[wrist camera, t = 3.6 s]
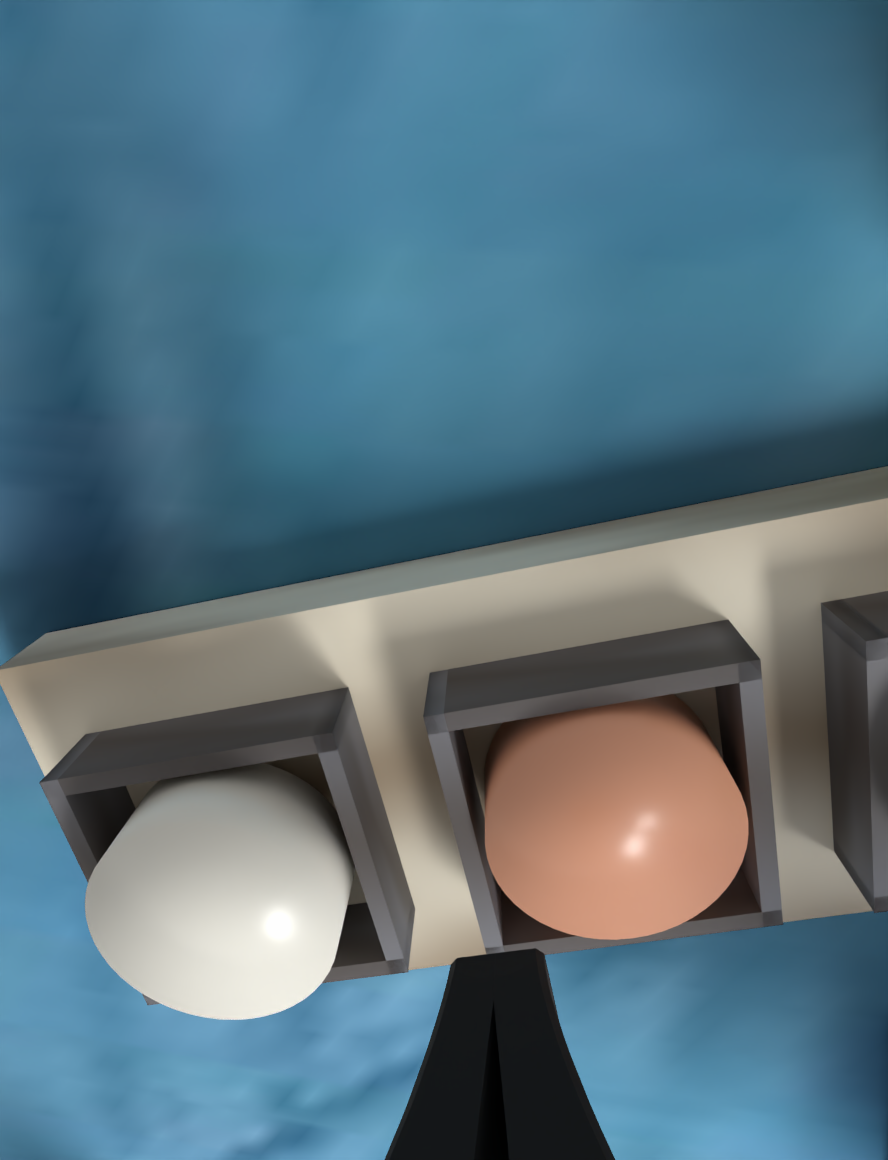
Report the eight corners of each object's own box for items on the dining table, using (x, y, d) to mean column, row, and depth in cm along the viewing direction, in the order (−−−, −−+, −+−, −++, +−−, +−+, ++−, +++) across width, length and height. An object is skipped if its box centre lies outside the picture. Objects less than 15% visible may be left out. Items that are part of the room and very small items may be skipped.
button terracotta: (726, 851, 16) (758, 922, 14) (508, 882, 17) (510, 953, 15) (704, 655, 15) (737, 706, 13) (462, 697, 15) (460, 751, 13)
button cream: (379, 925, 16) (367, 1004, 15) (177, 953, 17) (139, 1032, 15) (319, 740, 15) (296, 802, 13) (97, 778, 15) (44, 842, 14)
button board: (1118, 811, 18) (1276, 935, 14) (183, 940, 21) (121, 1068, 17) (1161, 411, 15) (1379, 442, 11) (45, 633, 18) (-65, 713, 14)
